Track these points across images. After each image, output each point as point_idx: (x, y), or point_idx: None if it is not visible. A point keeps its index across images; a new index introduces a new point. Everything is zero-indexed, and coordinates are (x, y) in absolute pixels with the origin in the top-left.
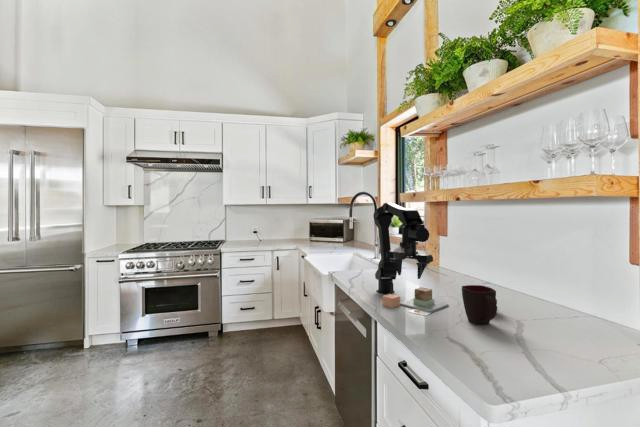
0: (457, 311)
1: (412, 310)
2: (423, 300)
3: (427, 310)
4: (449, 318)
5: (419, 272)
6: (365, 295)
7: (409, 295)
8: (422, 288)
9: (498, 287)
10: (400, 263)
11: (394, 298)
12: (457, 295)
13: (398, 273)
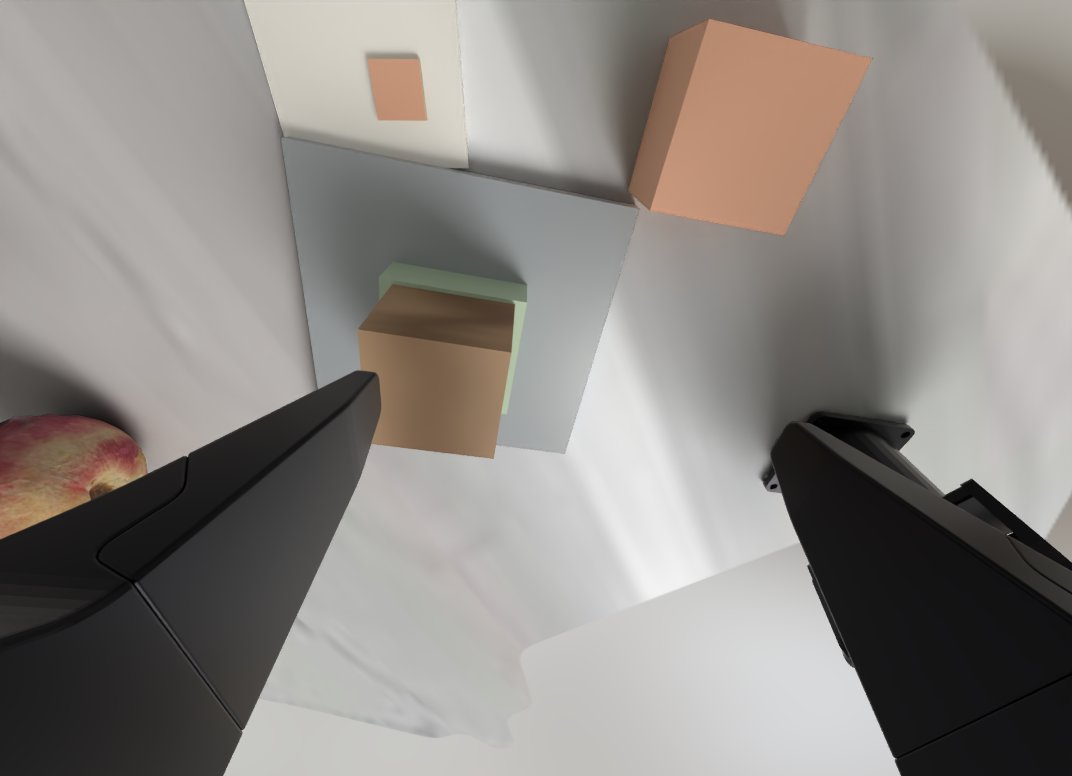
0: (203, 340)
1: (449, 88)
2: (414, 290)
3: (310, 144)
4: (73, 101)
5: (226, 440)
6: (1013, 284)
7: (646, 472)
8: (458, 422)
9: (362, 713)
10: (938, 717)
11: (687, 78)
12: (418, 588)
13: (827, 440)
